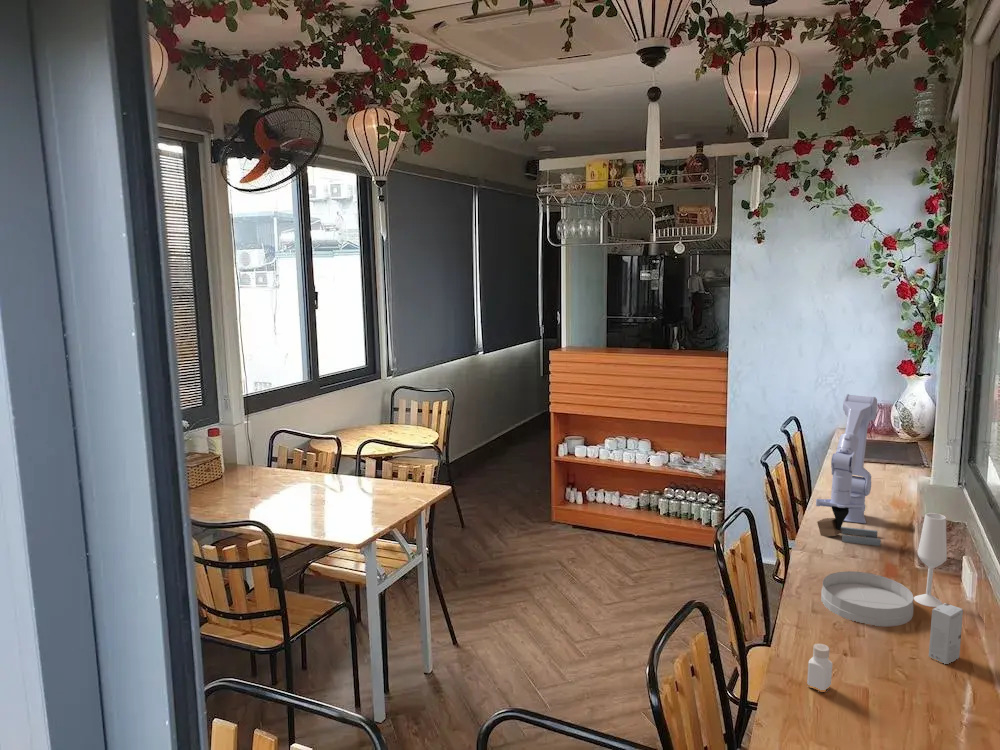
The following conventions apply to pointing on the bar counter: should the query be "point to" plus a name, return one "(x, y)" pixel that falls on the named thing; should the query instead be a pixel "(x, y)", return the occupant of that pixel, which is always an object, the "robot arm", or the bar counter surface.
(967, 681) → the bar counter surface
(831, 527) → the walnut block
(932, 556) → the champagne flute
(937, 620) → the skincare box
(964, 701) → the bar counter surface
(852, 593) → the dish
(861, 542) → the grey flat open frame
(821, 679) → the pepper shaker
